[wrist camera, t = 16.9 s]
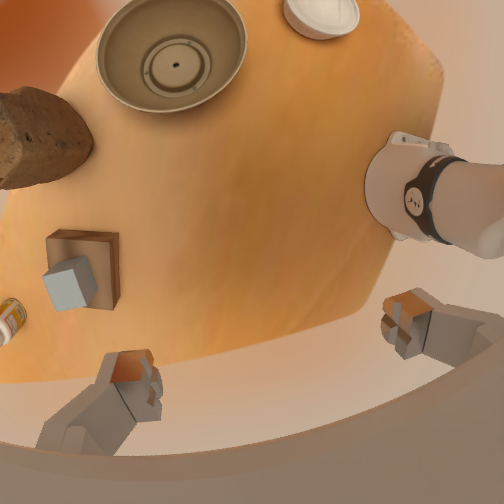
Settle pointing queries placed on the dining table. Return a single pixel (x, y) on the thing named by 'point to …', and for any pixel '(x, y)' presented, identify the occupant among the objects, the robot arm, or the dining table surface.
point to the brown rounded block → (39, 138)
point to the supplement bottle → (10, 319)
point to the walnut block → (90, 260)
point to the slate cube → (70, 284)
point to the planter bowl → (170, 52)
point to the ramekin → (322, 17)
